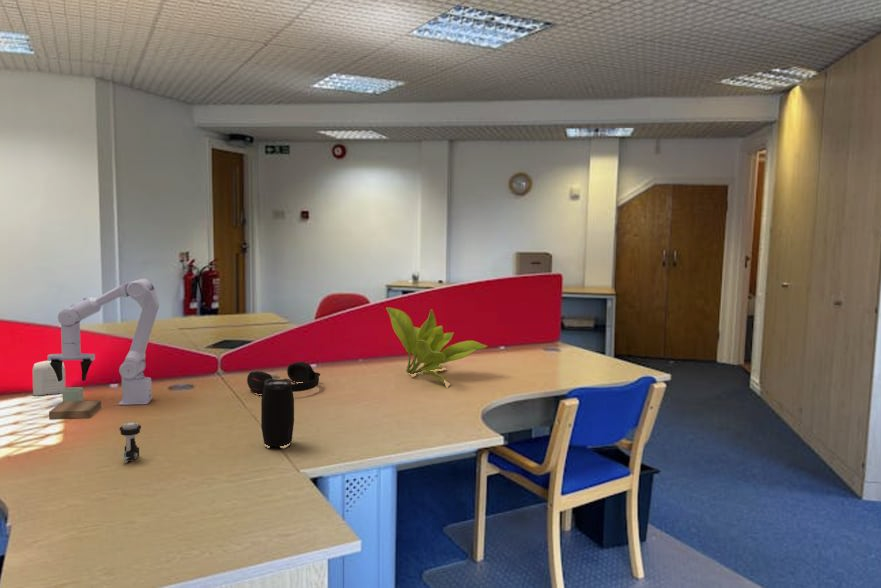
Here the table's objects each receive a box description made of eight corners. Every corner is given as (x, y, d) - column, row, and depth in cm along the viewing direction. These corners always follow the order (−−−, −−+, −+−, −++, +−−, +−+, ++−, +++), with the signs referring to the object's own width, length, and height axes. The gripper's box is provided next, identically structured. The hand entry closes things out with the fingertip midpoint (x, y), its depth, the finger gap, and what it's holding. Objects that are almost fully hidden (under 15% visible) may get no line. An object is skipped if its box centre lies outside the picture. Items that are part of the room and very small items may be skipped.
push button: (134, 464, 175) (133, 428, 174) (114, 464, 175) (113, 428, 173) (145, 455, 181) (144, 421, 180) (125, 455, 181) (124, 420, 180)
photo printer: (65, 390, 243) (64, 358, 242) (66, 393, 240) (65, 360, 238) (33, 394, 238) (31, 360, 236) (33, 396, 234) (31, 363, 233)
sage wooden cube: (83, 400, 231) (82, 387, 231) (78, 404, 227) (78, 390, 226) (67, 401, 230) (67, 387, 230) (62, 405, 226) (62, 391, 225)
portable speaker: (256, 444, 193) (256, 380, 191) (285, 438, 199) (286, 375, 197) (269, 452, 186) (269, 386, 184) (298, 446, 192) (299, 381, 190)
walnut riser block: (101, 409, 224) (100, 400, 224) (89, 419, 212) (89, 410, 212) (62, 410, 222) (62, 401, 221) (49, 420, 210) (48, 411, 210)
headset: (268, 378, 272) (268, 358, 270) (329, 382, 268) (329, 361, 267) (238, 396, 244) (238, 373, 243) (305, 401, 240) (305, 377, 239)
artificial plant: (418, 409, 255) (464, 351, 249) (349, 338, 272) (391, 282, 266) (460, 403, 293) (501, 353, 287) (397, 341, 310) (435, 292, 304)
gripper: (97, 340, 231) (98, 377, 233) (52, 340, 228) (53, 378, 230) (90, 343, 225) (91, 382, 226) (44, 344, 222) (45, 383, 223)
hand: (72, 380), depth 228 cm, fingers open, 7 cm apart
